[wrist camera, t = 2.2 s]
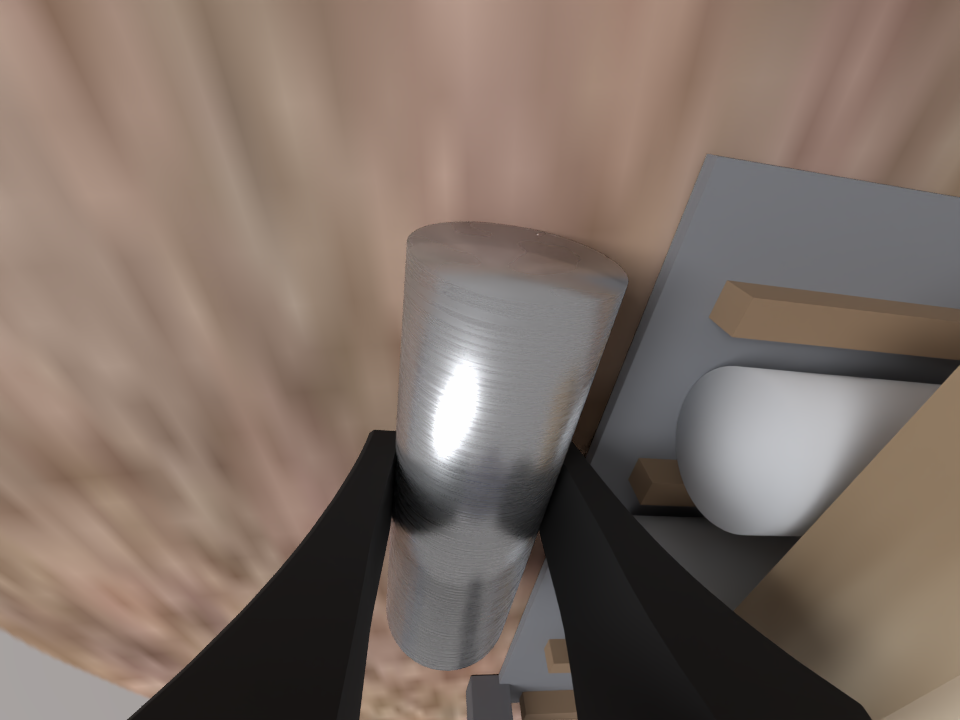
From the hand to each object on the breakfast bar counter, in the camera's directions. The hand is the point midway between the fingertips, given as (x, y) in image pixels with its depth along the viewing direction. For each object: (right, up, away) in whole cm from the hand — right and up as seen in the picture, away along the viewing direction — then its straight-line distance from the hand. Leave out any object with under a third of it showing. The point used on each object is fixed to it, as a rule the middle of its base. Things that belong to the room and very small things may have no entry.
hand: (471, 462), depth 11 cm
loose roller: (0, +1, +1) cm, 1 cm away
